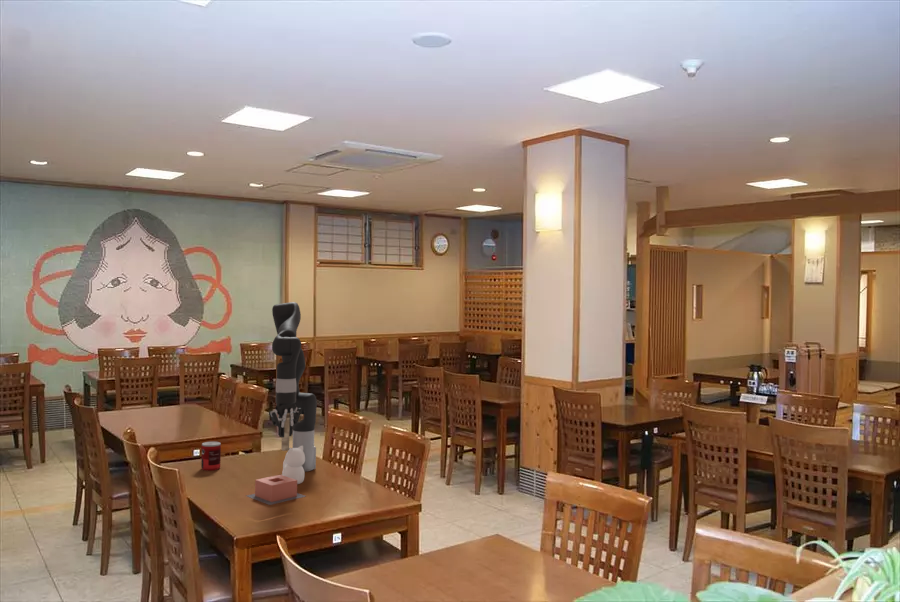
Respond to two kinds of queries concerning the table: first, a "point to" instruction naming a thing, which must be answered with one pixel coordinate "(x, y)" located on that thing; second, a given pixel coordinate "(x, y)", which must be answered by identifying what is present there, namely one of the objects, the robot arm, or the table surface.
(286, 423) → the grey beige cylinder
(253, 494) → the mat
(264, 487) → the pink square peg base
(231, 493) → the table surface
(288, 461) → the cat figurine
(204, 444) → the canned food
